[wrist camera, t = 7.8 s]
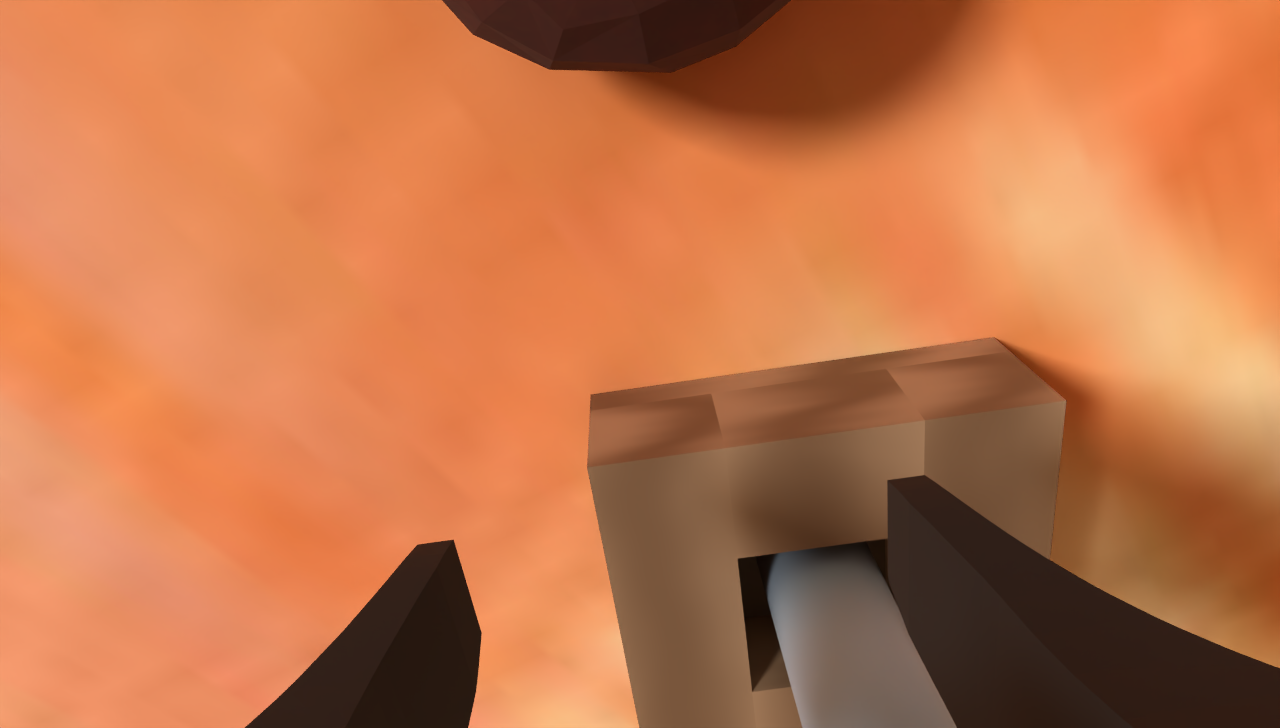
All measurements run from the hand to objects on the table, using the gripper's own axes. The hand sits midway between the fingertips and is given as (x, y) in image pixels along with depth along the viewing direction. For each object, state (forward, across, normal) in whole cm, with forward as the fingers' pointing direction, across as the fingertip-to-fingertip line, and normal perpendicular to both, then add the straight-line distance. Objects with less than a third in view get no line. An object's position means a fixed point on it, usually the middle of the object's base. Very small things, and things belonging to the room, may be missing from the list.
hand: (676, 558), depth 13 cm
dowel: (+9, -4, +8) cm, 13 cm away
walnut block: (+10, -4, +8) cm, 14 cm away
